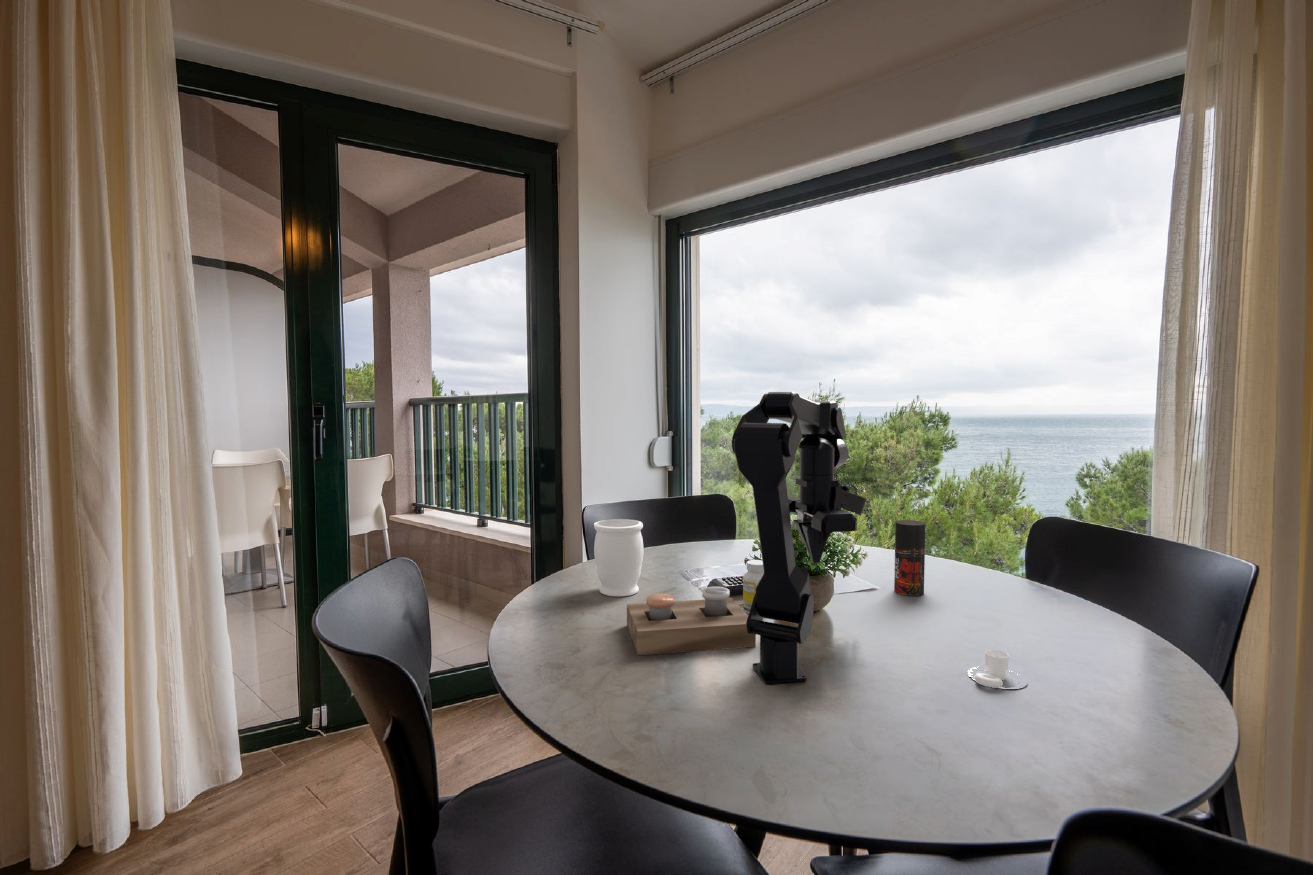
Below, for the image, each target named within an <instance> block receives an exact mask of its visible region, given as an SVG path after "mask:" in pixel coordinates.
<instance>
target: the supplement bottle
mask: <svg viewBox="0 0 1313 875" xmlns="http://www.w3.org/2000/svg"><path fill="white" fill-rule="evenodd" d="M763 574H764V569H763V561H762V559H761V560H760V559H751V560H747V561H746V572H744V573H743V576H742V581H743V582H742V583H743V584H742V586H743V587H742V595H743V596H742V602H743V603H742V607H743V608H742V609H743V610H744V611H745V612H746V614H747V615H749V612H750V609H751V606H752V602H753V598H754V595H755V593H756V587H757V585H758V583H759V581H760V580H761V578H762V576H763Z"/></svg>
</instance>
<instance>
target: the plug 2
mask: <svg viewBox="0 0 1313 875" xmlns="http://www.w3.org/2000/svg"><path fill="white" fill-rule="evenodd" d="M701 591H702V592H701V594H702V598H703V599H704V600H705V614H706V615H708V616H714V617H717V616H725V615H726V614H727V599H728V598H731V597H730V594H731V593H730V592H731V591H730V589H728V588H727V587H722V586H707V587H705V588H702V590H701Z"/></svg>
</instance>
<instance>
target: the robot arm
mask: <svg viewBox="0 0 1313 875" xmlns="http://www.w3.org/2000/svg"><path fill="white" fill-rule="evenodd" d="M773 419H774V420H778V421H782V423H780V422H779V423H777V422H769V420H773ZM783 422H786V423H783ZM787 423H789V424H790V426H789V425H788V424H787ZM846 433H847V432H846V427H845V422H844V417H843V411H842V409H841V407H839V405H838V403H837V402H836V401H835V400H826V401H825V400H811V399H807V398H805V397H803V396H800V394H798V393H795V392H794V391H770V392H768V393H764V394H763V395H762V397H761V399H760V401H759V403H758V404H756V405H755V406H753V407H752V408H751V409H750V410H748V411H747V412H746V413H744V414H742V416H741V417H740V419H739V421H738V423H737V426H736V428H735V430H734V431H733V433H732V434H733V435H732V437H731V448H732V449H731V450H732V452H733V454H734V455H735V456H734V457H735V460H736V465H737V468H738V471H739V472H740V473H741V475H742V476H743V477H744V478H745V480H747V482H748V484H750V485H751V487H752V494H753V501H754V509H755V514H756V516H755V517H756V523H757V530H758V531H757V532H758V537H759V546H760V551H761V560H762V561H763V569H764V574H763V576H762V578H761V580H760V581H759V583H758V585H757V587H756V593H755V595H754V598H753V602H752V606H751V609H750V612H749V614H747V615H748V619H747V622H746V625H747V631H748V634H756V635H757V636H759V662H753V663H752V669H754V671H755V672H756V674H758V676H759V677H760V679H761V680H762V682H763V683H764V684H767V685H769V684H770V685H771V684H781V683H782V684H783V683H792V682H793V683H794V682H805V681H807V680H808V676H807V675H806V674H805V673H804V672H803V671H802V670H801V668H799V651H800V650H799V648H800V647H799V645H802V644H803V643H804V642H805V641H806V640H807V639H808V638H809V637H810V636H811V634H812V626H813V616H814V606H815V599H814V595H813V594H812V593H811V592H812V588H811V585H810V573H809V572H808V570H807V568H805V567H804V568H803V567H799V566H798V565H797V564H796V558H795V557H796V556H795V550H794V539H793V532H792V530H793V529H792V523H791V513H797V519H793V520H792V521H793V524H794V525H795V527H796V530H797V531H798V533H799V535H800V537H801V540H802V542H803V544H804V547H805V549H806V550H807V553H808V556H809V558H810V560H811V562H812V563H814V564H819V563H821V559H822V557H823V553H824V550H825V548H826V544H827V542H828V540H829V538H830V535H831V534H832V533H839V532H840V533H841V532H843V533H845V532H856V531H858V518H857V517H856V516H855V515H858V516H862V514H863V511H864V508H865V505H866V502H867V500H868V498H866V497H863V496H860V495H857V494H855V493H852V492H850V487H849V486H846V485H843V484H840V482H839V480H837V479H835V469H837V468H840V467H841V466H843V465H844V464H845V463H846V462H847V460H848V459H849V448H848V446H847V444H846V443H845V441H843V440H847V434H846ZM798 448H799V453H800V454H799V458H800V459H799V477H796V478H795V484H796V485H799V496H798V497H788V496H789V494H788V488H787V477H788V474H789V472H790V470H791V469H792V467H793V465H794V463H795V461H796V453H797V450H798ZM853 513H854V514H855V515H854V514H853ZM764 619H768V620H772V621H779V622H784V623H789V624H790V623H791V624H795V625H797V626H791V625H786V624H780V623H775V622H770V621H769V622H768V621H765V620H764Z"/></svg>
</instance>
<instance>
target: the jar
mask: <svg viewBox="0 0 1313 875" xmlns="http://www.w3.org/2000/svg"><path fill="white" fill-rule="evenodd" d="M593 527H594V530H595V531H596V533H595V537H594V545H593V546H594V547H593V548H594V549H593V552H594V562H595V566H596V574H597V577H598V580H599V582H600V584H601V586H600V587H599V592H600V594H602V595H604V596H608V597H614V598H616V597H617V598H618V597H621V598H622V597H628V596H629V597H630V596H632V595H635V594H637V593H638V592H639V590H640V589H639V588H640V587H639V586H638V584H637V583H638V582H639V579H640V576H641V574H642V573H641V572H642V565H643V561H644V560H643V559H644V540H643V535H642V532H641V530H642V529H643V528H644V523H643V522H642V521H640V520H636V519H626V518H612V519H604V520H599V521H596V522H593Z"/></svg>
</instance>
